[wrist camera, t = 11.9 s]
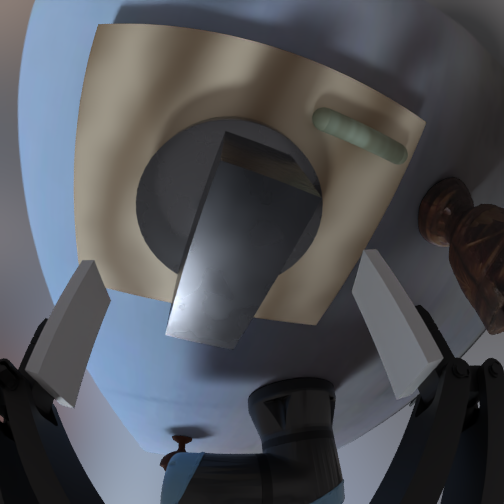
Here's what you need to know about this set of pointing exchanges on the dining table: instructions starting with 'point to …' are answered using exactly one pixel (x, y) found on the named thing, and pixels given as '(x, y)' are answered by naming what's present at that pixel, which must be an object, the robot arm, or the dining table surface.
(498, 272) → the mortar and pestle
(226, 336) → the dial knob
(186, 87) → the base plate
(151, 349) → the dining table surface
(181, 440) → the ice cream bowl
